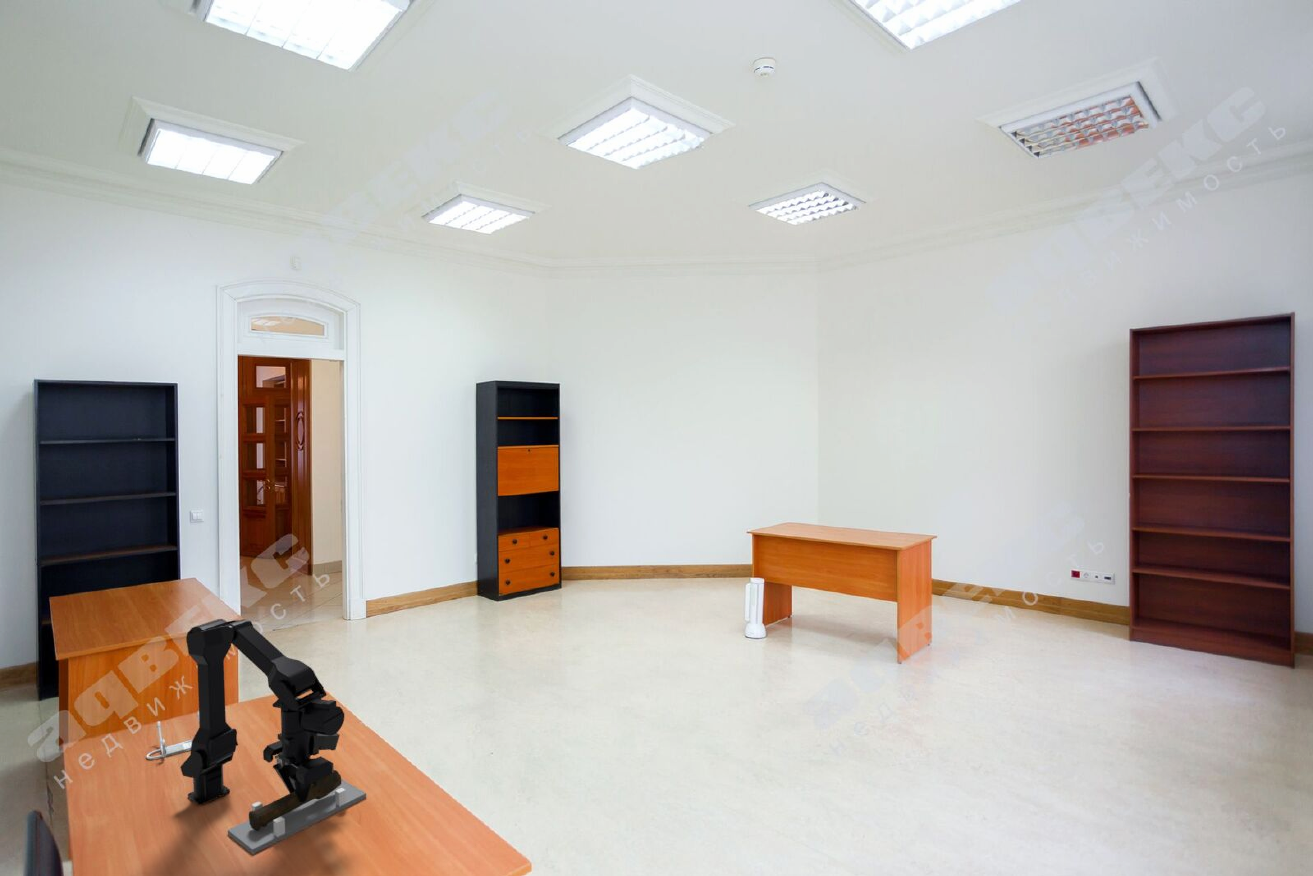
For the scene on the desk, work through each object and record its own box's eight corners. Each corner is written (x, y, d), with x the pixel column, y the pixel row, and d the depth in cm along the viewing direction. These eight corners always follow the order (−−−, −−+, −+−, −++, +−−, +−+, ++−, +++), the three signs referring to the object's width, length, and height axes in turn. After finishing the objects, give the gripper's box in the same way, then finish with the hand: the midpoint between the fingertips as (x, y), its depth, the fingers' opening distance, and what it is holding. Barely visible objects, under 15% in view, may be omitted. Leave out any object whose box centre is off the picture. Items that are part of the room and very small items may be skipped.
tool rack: (227, 834, 142) (227, 815, 142) (339, 782, 162) (339, 765, 161) (252, 854, 136) (251, 834, 136) (366, 797, 155) (365, 780, 155)
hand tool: (256, 835, 140) (254, 813, 139) (248, 828, 142) (246, 806, 142) (347, 789, 154) (345, 769, 154) (338, 784, 157) (336, 764, 157)
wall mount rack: (147, 766, 170) (146, 743, 170) (143, 746, 181) (142, 724, 180) (221, 746, 180) (221, 724, 180) (214, 727, 191) (213, 707, 190)
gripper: (356, 725, 149) (358, 795, 150) (311, 703, 160) (313, 769, 161) (304, 746, 140) (306, 821, 141) (260, 721, 151) (263, 791, 152)
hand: (299, 798), depth 149 cm, fingers closed on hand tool, 3 cm apart
